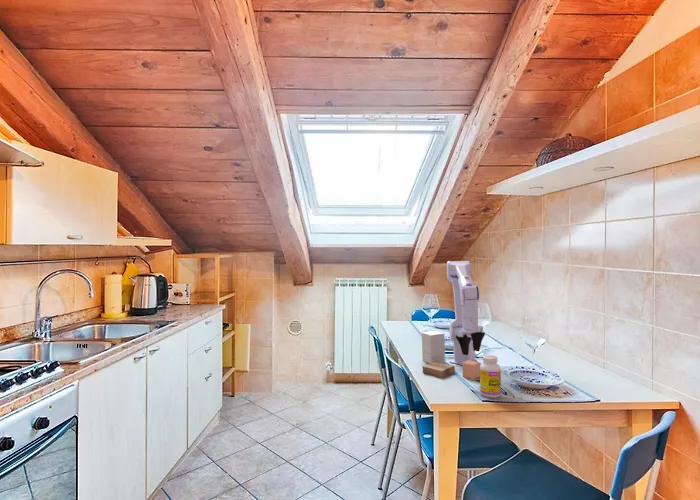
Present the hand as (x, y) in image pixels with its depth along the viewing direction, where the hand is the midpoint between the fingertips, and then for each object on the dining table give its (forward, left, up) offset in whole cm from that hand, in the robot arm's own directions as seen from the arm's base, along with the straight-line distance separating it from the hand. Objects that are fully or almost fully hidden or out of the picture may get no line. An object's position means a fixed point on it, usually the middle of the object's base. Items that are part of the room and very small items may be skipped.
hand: (471, 352), depth 148 cm
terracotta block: (-1, -1, -10) cm, 10 cm away
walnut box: (+3, -13, -10) cm, 16 cm away
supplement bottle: (+11, +13, -10) cm, 20 cm away
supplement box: (-8, -23, -10) cm, 26 cm away
